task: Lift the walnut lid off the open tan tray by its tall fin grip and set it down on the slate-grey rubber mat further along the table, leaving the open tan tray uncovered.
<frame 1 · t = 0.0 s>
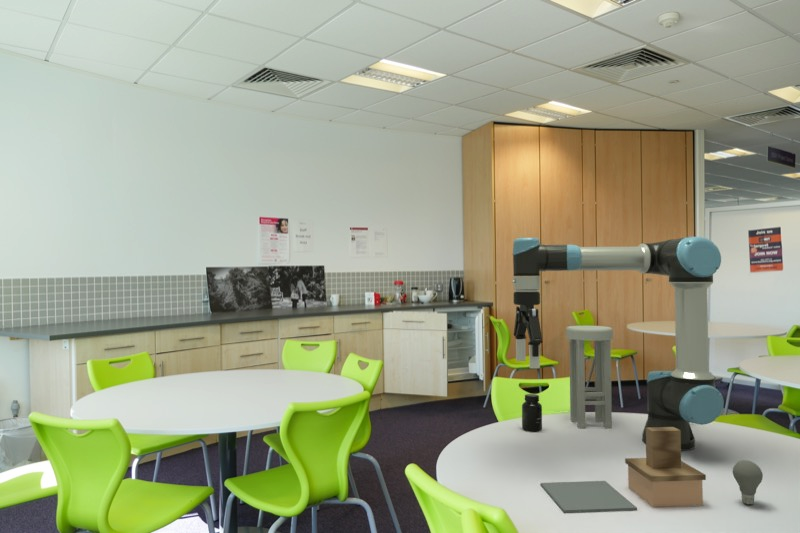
hand: (527, 364, 163), 28 cm above the table, fingers open, 13 cm apart
supplement bottle: (532, 430, 196), on the table
lid: (663, 471, 136), point 6 cm above the table, touching open tan tray
coffee box: (678, 426, 200), on the table
mat: (586, 497, 136), on the table
stool: (590, 424, 203), on the table
open tan tray: (664, 496, 136), on the table
light bulb: (748, 504, 131), on the table
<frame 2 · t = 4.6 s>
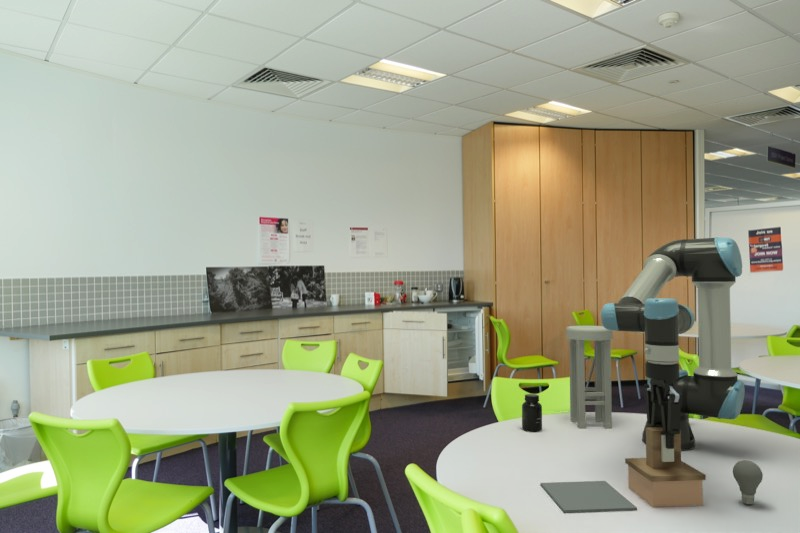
hand: (663, 458, 137), 9 cm above the table, fingers closed on lid, 3 cm apart
lid: (663, 471, 136), point 6 cm above the table, touching gripper
everything else where it was.
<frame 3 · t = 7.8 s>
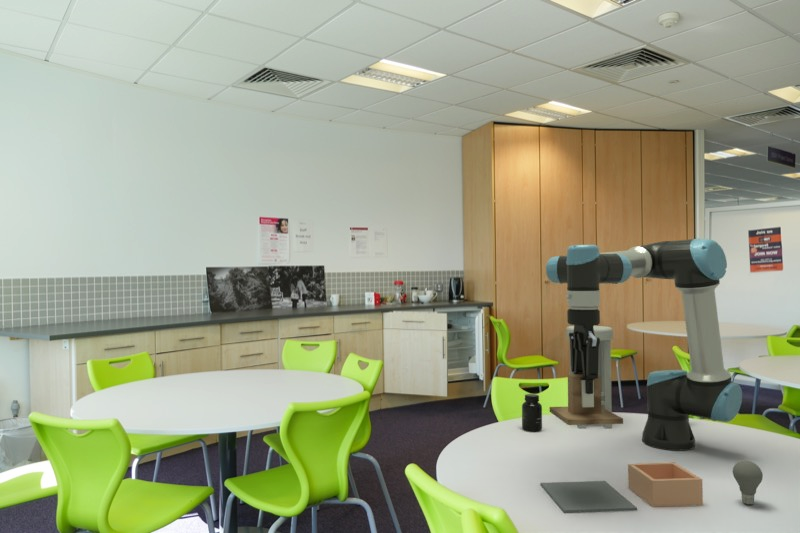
hand: (584, 404, 136), 22 cm above the table, fingers closed on lid, 3 cm apart
lid: (584, 417, 136), point 19 cm above the table, touching gripper
everything else where it was.
when the fingers open (5 cm above the table, at t = 11.0 s): lid drops 1 cm, resting on mat.
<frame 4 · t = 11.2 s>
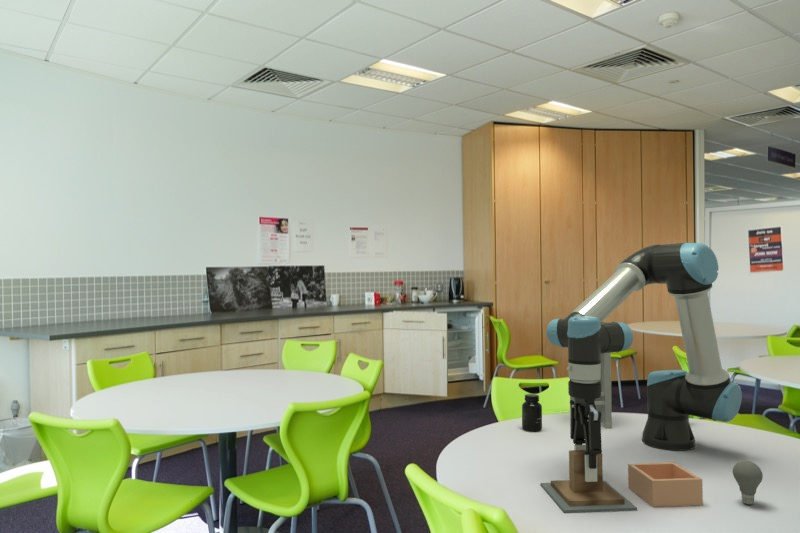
hand: (585, 476, 136), 5 cm above the table, fingers open, 6 cm apart
lid: (586, 494, 136), point 1 cm above the table, touching mat
everything else where it was.
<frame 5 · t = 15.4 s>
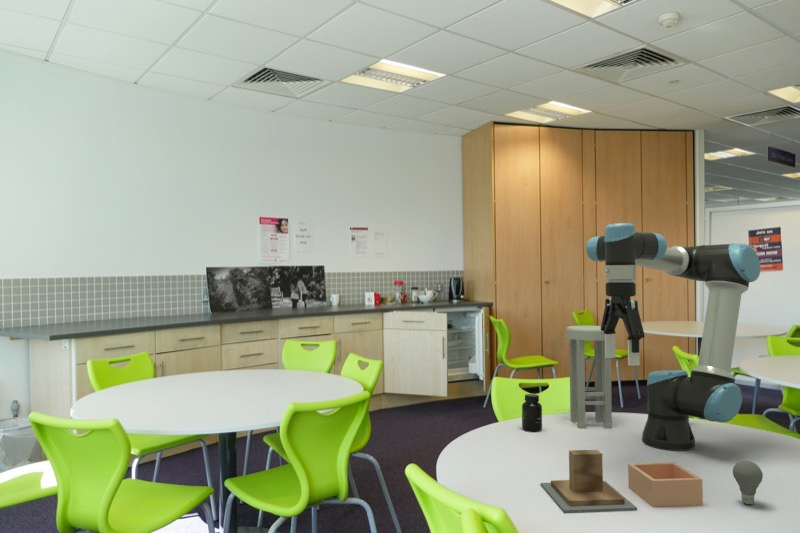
hand: (621, 361, 150), 31 cm above the table, fingers open, 13 cm apart
nothing on the table moved.
at the end: lid inside the target area on the mat (0.0 cm from its centre), point 0.6 cm above the mat's base; lid tilted 0°; lid touching mat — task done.
